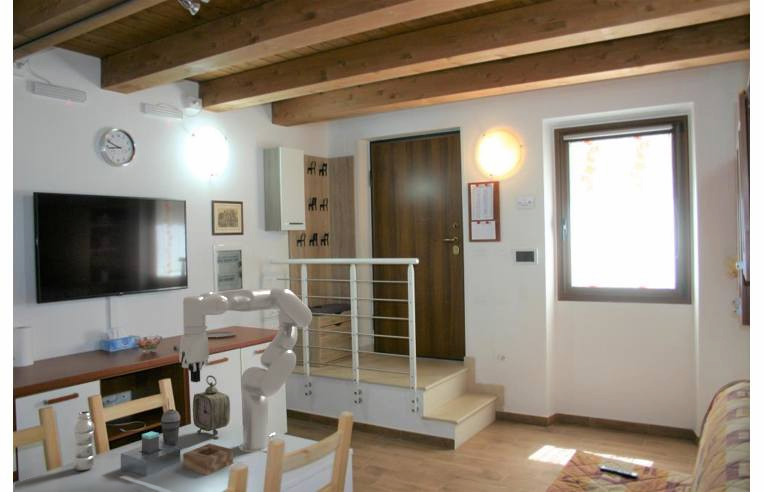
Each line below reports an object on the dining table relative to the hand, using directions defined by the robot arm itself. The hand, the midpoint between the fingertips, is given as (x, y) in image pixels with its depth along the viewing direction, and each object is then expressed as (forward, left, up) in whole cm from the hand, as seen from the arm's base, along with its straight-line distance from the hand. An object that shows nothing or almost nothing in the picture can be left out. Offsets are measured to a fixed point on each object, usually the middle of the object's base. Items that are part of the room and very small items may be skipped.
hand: (195, 381), depth 201 cm
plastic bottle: (+22, -32, -31) cm, 49 cm away
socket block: (+9, -13, -31) cm, 34 cm away
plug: (+9, -13, -30) cm, 33 cm away
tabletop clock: (-26, -20, -31) cm, 45 cm away
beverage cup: (-6, -21, -31) cm, 37 cm away
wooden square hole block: (-1, +5, -31) cm, 31 cm away
